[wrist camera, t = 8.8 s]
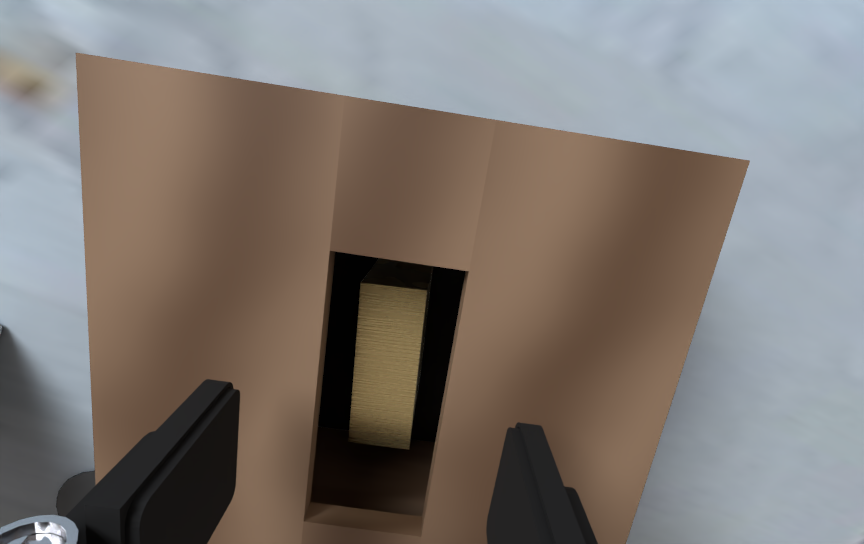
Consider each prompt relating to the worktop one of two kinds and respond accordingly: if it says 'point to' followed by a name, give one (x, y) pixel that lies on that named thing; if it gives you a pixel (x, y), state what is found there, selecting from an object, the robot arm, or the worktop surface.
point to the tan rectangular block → (389, 352)
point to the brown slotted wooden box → (396, 240)
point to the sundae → (74, 492)
